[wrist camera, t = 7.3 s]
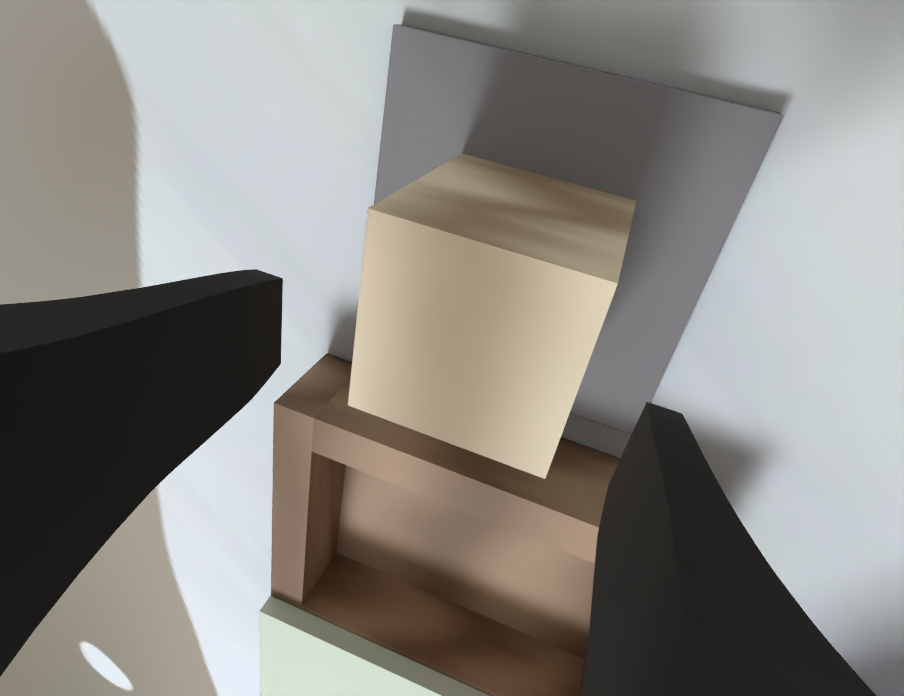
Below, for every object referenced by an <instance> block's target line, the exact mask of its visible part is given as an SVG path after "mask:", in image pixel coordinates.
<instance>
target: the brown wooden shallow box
mask: <svg viewBox="0 0 904 696" xmlns="http://www.w3.org/2000/svg"><path fill="white" fill-rule="evenodd" d="M351 369H352V363H351V362H349V361H346V360H343V359H340V358H337V357H335V356H332V355H329V354H326V355H325V356H323V357H322V358H321V359H320V360H319V361H318V362H317V363H316V364H315V365H314V366H313V367H312V368H311V369H310V370H309V371H307V372H306V373H305V374H304V375H303V376H302V377H301V378H300V379H299V380H298V381H297V382H296V383H295V384H294V385H292V386H291V387H290V388H289V389H288V390H287V391H286V392H285V393H284V394H283V395H282V396H281V397H280V398H279V399H278V400H276V401H275V402H274V433H273V501H272V569H271V596H272V597H275V598H277V599H279V600H281V601H283V602H286V603H288V604H290V605H292V606H294V607H296V608H299V609H301V610H303V611H305V612H307V613H310V614H312V615H314V616H316V617H318V618H321V619H323V620H325V621H327V622H329V623H332V624H334V625H336V626H338V627H340V628H343V629H345V630H347V631H349V632H351V633H354V634H356V635H358V636H360V637H362V638H364V639H367V640H369V641H371V642H373V643H375V644H378V645H380V646H382V647H384V648H386V649H389V650H391V651H393V652H395V653H397V654H400V655H402V656H404V657H406V658H408V659H411V660H413V661H415V662H417V663H419V664H422V665H424V666H426V667H428V668H430V669H432V670H435V671H437V672H439V673H441V674H443V675H446V676H448V677H450V678H452V679H454V680H457V681H459V682H461V683H463V684H465V685H468V686H470V687H472V688H474V689H476V690H479V691H481V692H483V693H485V694H487V695H490V696H581V693H582V688H583V682H584V675H585V667H586V659H587V651H588V639H589V627H590V615H591V603H592V591H593V579H594V568H595V557H596V545H597V535H598V530H599V525H600V520H601V516H602V511H603V506H604V502H605V498H606V493H607V489H608V485H609V483H610V480H611V478H612V476H613V474H614V472H615V470H616V467H617V465H618V463H619V461H620V459H619V458H616V457H613V456H611V455H608V454H605V453H602V452H599V451H597V450H594V449H591V448H588V447H586V446H583V445H580V444H577V443H574V442H572V441H569V440H566V439H563V438H560V441H559V443H558V446H557V449H556V451H555V454H554V457H553V459H552V462H551V465H550V467H549V470H548V473H547V476H546V478H545V479H544V478H541V477H538V476H536V475H533V474H530V473H528V472H525V471H522V470H520V469H517V468H514V467H511V466H509V465H506V464H503V463H501V462H498V461H495V460H493V459H490V458H487V457H485V456H482V455H479V454H477V453H474V452H471V451H469V450H466V449H463V448H461V447H458V446H455V445H453V444H450V443H447V442H445V441H442V440H439V439H437V438H434V437H431V436H429V435H426V434H423V433H421V432H418V431H415V430H413V429H410V428H407V427H405V426H402V425H399V424H396V423H394V422H391V421H388V420H386V419H383V418H380V417H378V416H375V415H372V414H370V413H367V412H364V411H362V410H359V409H356V408H354V407H351V406H348V398H349V389H350V379H351Z"/></svg>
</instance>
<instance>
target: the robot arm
mask: <svg viewBox="0 0 904 696" xmlns="http://www.w3.org/2000/svg"><path fill="white" fill-rule="evenodd" d="M282 285H283V278H280V277H277V276H274V275H271V274H268V273H265V272H262V271H259V270H256V269H255V270H242V271H234V272H227V273H220V274H215V275H209V276H203V277H198V278H192V279H187V280H181V281H176V282H170V283H165V284H160V285H154V286H149V287H143V288H137V289H131V290H124V291H117V292H111V293H104V294H98V295H92V296H85V297H77V298H70V299H60V300H51V301H42V302H29V303H17V304H3V305H0V676H1V675H2V673H3V672H4V671H5V669H6V668H7V667H8V665H9V664H10V663H11V661H12V660H13V659H14V657H15V656H16V654H17V653H18V652H19V650H20V649H21V648H22V646H23V645H24V644H25V642H26V641H27V639H28V638H29V636H30V635H31V634H32V632H33V631H34V630H35V629H36V627H37V626H38V625H39V624H40V622H41V621H42V620H43V618H44V617H45V616H46V615H47V613H48V612H49V611H50V610H51V608H52V607H53V606H54V605H55V603H56V602H57V601H58V599H59V598H60V597H61V596H62V594H63V593H64V592H65V591H66V589H67V588H68V587H69V586H70V584H71V583H72V582H73V580H74V579H75V578H76V577H77V575H78V574H79V573H80V572H81V571H82V569H83V568H84V567H85V566H86V565H87V564H88V562H89V561H90V560H91V559H92V558H93V557H94V555H95V554H96V553H97V552H98V550H99V549H100V548H101V547H102V546H103V545H104V544H105V542H106V541H107V540H108V539H109V538H110V537H111V535H112V534H113V533H114V532H115V530H117V528H118V527H119V526H120V525H121V524H122V523H123V522H124V521H125V520H126V519H127V517H128V516H129V515H130V514H131V513H132V512H133V511H134V510H135V508H137V506H138V505H139V504H140V503H141V502H142V501H143V500H144V499H145V498H146V496H147V495H148V494H149V493H150V492H151V491H152V490H153V489H154V488H155V487H156V486H157V485H158V484H159V483H160V482H161V481H162V480H163V479H164V478H165V477H166V476H167V475H168V474H169V473H171V472H172V471H173V470H174V469H175V468H176V467H177V466H178V465H180V464H181V463H182V462H183V461H184V460H185V459H186V458H187V457H188V456H190V455H191V454H192V453H193V452H194V451H195V450H196V449H197V448H199V447H200V446H201V445H202V444H203V443H204V442H205V441H206V440H208V439H209V438H210V437H211V436H212V435H213V434H214V433H215V432H216V431H218V430H219V429H220V428H221V427H222V426H223V425H224V424H225V423H226V422H228V421H229V420H230V419H231V418H232V417H233V416H234V415H235V414H236V413H237V412H239V411H240V410H241V409H242V408H243V407H244V406H245V405H246V404H247V403H248V402H249V401H250V400H251V399H252V398H253V397H254V396H255V395H256V394H257V392H258V391H259V390H260V389H261V388H262V387H263V385H264V384H265V383H266V382H267V380H268V379H269V378H270V377H271V375H272V374H273V373H274V372H275V370H276V369H277V368H278V367H279V365H280V364H281V327H282ZM581 696H876V695H875V694H874V693H873V692H872V691H871V690H870V689H869V687H868V686H867V685H866V684H865V683H864V682H863V681H862V679H861V678H860V677H859V676H858V675H857V674H856V673H855V671H854V670H853V669H852V668H851V667H850V666H849V665H848V663H847V662H846V661H845V660H844V659H843V658H842V657H841V655H840V654H839V653H838V652H837V651H836V650H835V649H834V647H833V646H832V645H831V644H830V643H829V642H828V640H827V639H826V638H825V637H824V636H823V634H822V633H821V632H820V631H819V629H818V628H817V627H816V626H815V625H814V623H813V622H812V621H811V620H810V618H809V617H808V616H807V615H806V613H805V612H804V611H803V609H802V608H801V607H800V605H799V604H798V603H797V601H796V600H795V599H794V598H793V596H792V595H791V594H790V592H789V591H788V590H787V588H786V587H785V586H784V584H783V583H782V582H781V580H780V579H779V578H778V576H777V575H776V574H775V572H774V571H773V569H772V568H771V567H770V565H769V564H768V562H767V561H766V559H765V558H764V557H763V555H762V554H761V552H760V550H759V549H758V547H757V546H756V544H755V543H754V541H753V540H752V538H751V537H750V535H749V534H748V532H747V530H746V529H745V527H744V526H743V524H742V523H741V521H740V519H739V518H738V516H737V514H736V513H735V511H734V510H733V508H732V506H731V505H730V503H729V501H728V499H727V498H726V496H725V494H724V492H723V491H722V489H721V487H720V485H719V484H718V482H717V480H716V478H715V476H714V474H713V473H712V471H711V469H710V467H709V465H708V463H707V461H706V459H705V457H704V455H703V454H702V452H701V450H700V448H699V446H698V444H697V442H696V440H695V438H694V436H693V434H692V432H691V430H690V428H689V426H688V424H687V422H686V420H685V418H684V416H683V414H681V413H678V412H675V411H672V410H669V409H666V408H663V407H660V406H658V405H655V404H652V403H649V402H646V404H645V406H644V409H643V411H642V413H641V415H640V417H639V420H638V422H637V424H636V426H635V428H634V430H633V433H632V435H631V437H630V439H629V441H628V443H627V446H626V448H625V450H624V452H623V454H622V457H621V459H620V461H619V463H618V465H617V467H616V470H615V472H614V474H613V476H612V478H611V480H610V483H609V485H608V489H607V493H606V498H605V502H604V506H603V511H602V516H601V520H600V525H599V530H598V535H597V545H596V557H595V568H594V579H593V591H592V603H591V615H590V627H589V639H588V651H587V659H586V667H585V675H584V682H583V688H582V693H581Z"/></svg>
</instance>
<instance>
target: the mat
mask: <svg viewBox="0 0 904 696" xmlns="http://www.w3.org/2000/svg"><path fill="white" fill-rule="evenodd" d="M782 118H783V115H782V114H781V113H778V112H774V111H769V110H765V109H761V108H756V107H752V106H748V105H744V104H739V103H735V102H731V101H726V100H722V99H718V98H714V97H709V96H705V95H701V94H696V93H692V92H688V91H684V90H679V89H675V88H671V87H666V86H662V85H658V84H653V83H649V82H645V81H641V80H636V79H632V78H628V77H623V76H619V75H615V74H611V73H606V72H602V71H598V70H593V69H589V68H585V67H581V66H576V65H572V64H568V63H563V62H559V61H555V60H551V59H546V58H542V57H538V56H533V55H529V54H525V53H521V52H516V51H512V50H508V49H503V48H499V47H495V46H491V45H486V44H482V43H478V42H473V41H469V40H465V39H461V38H456V37H452V36H448V35H443V34H439V33H435V32H431V31H426V30H422V29H418V28H413V27H409V26H405V25H394V24H393V33H392V43H391V52H390V61H389V70H388V79H387V89H386V98H385V107H384V116H383V125H382V135H381V144H380V153H379V162H378V171H377V181H376V190H375V199H374V205H375V204H376V203H378V202H380V201H381V200H383V199H385V198H386V197H388V196H390V195H392V194H393V193H395V192H397V191H398V190H400V189H402V188H403V187H405V186H407V185H409V184H410V183H412V182H414V181H415V180H417V179H419V178H420V177H422V176H424V175H426V174H427V173H429V172H431V171H432V170H434V169H436V168H438V167H439V166H441V165H443V164H444V163H446V162H448V161H449V160H451V159H453V158H455V157H456V156H458V155H460V154H461V153H463V154H466V155H470V156H474V157H477V158H481V159H485V160H488V161H492V162H496V163H499V164H503V165H507V166H510V167H514V168H518V169H521V170H525V171H529V172H533V173H536V174H540V175H544V176H547V177H551V178H555V179H558V180H562V181H566V182H569V183H573V184H577V185H580V186H584V187H588V188H591V189H595V190H599V191H602V192H606V193H610V194H613V195H617V196H621V197H625V198H628V199H632V200H636V204H635V209H634V213H633V218H632V222H631V227H630V231H629V236H628V240H627V245H626V249H625V254H624V258H623V263H622V267H621V272H620V276H619V281H618V285H617V287H616V290H615V293H614V295H613V298H612V301H611V303H610V306H609V309H608V312H607V314H606V317H605V320H604V322H603V325H602V328H601V330H600V333H599V336H598V338H597V341H596V344H595V347H594V349H593V352H592V355H591V357H590V360H589V363H588V365H587V368H586V371H585V373H584V376H583V379H582V381H581V384H580V387H579V390H578V392H577V395H576V398H575V400H574V403H573V406H572V408H571V411H570V413H572V414H575V415H578V416H581V417H584V418H587V419H589V420H592V421H595V422H598V423H601V424H604V425H607V426H609V427H612V428H615V429H618V430H621V431H624V432H627V433H630V434H632V433H633V430H634V428H635V426H636V424H637V422H638V420H639V417H640V415H641V413H642V411H643V409H644V406H645V404H646V402H649V403H650V402H651V400H652V398H653V396H654V393H655V391H656V389H657V387H658V385H659V383H660V380H661V378H662V376H663V374H664V372H665V370H666V368H667V365H668V363H669V361H670V359H671V357H672V355H673V353H674V350H675V348H676V346H677V344H678V342H679V340H680V337H681V335H682V333H683V331H684V329H685V327H686V325H687V322H688V320H689V318H690V316H691V314H692V312H693V310H694V307H695V305H696V303H697V301H698V299H699V297H700V294H701V292H702V290H703V288H704V286H705V284H706V282H707V279H708V277H709V275H710V273H711V271H712V269H713V266H714V264H715V262H716V260H717V258H718V256H719V254H720V251H721V249H722V247H723V245H724V243H725V241H726V239H727V236H728V234H729V232H730V230H731V228H732V226H733V223H734V221H735V219H736V217H737V215H738V213H739V211H740V208H741V206H742V204H743V202H744V200H745V198H746V196H747V193H748V191H749V189H750V187H751V185H752V183H753V180H754V178H755V176H756V174H757V172H758V170H759V168H760V165H761V163H762V161H763V159H764V157H765V155H766V152H767V150H768V148H769V146H770V144H771V142H772V140H773V137H774V135H775V133H776V131H777V129H778V127H779V125H780V122H781V120H782Z"/></svg>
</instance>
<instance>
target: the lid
mask: <svg viewBox="0 0 904 696" xmlns="http://www.w3.org/2000/svg"><path fill="white" fill-rule="evenodd" d="M260 696H490V695H487V694H485V693H483V692H481V691H479V690H476V689H474V688H472V687H470V686H468V685H465V684H463V683H461V682H459V681H457V680H454V679H452V678H450V677H448V676H446V675H443V674H441V673H439V672H437V671H435V670H432V669H430V668H428V667H426V666H424V665H422V664H419V663H417V662H415V661H413V660H411V659H408V658H406V657H404V656H402V655H400V654H397V653H395V652H393V651H391V650H389V649H386V648H384V647H382V646H380V645H378V644H375V643H373V642H371V641H369V640H367V639H364V638H362V637H360V636H358V635H356V634H354V633H351V632H349V631H347V630H345V629H343V628H340V627H338V626H336V625H334V624H332V623H329V622H327V621H325V620H323V619H321V618H318V617H316V616H314V615H312V614H310V613H307V612H305V611H303V610H301V609H299V608H296V607H294V606H292V605H290V604H288V603H286V602H283V601H281V600H279V599H277V598H275V597H272V596H270V597H269V599H268V600H267V602H266V603H265V604H264V606H263V607H262V609H261V610H260Z"/></svg>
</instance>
